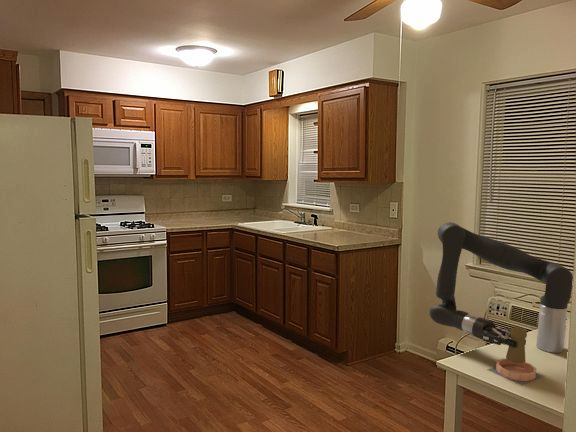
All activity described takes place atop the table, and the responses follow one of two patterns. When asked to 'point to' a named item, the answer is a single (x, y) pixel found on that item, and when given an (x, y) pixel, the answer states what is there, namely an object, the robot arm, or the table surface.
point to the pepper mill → (519, 352)
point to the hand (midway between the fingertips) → (520, 343)
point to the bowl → (516, 370)
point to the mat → (515, 380)
